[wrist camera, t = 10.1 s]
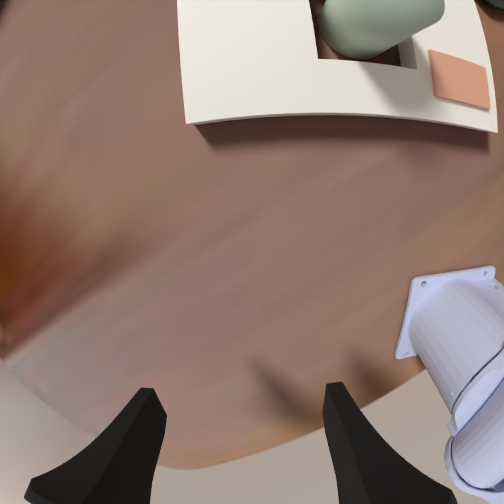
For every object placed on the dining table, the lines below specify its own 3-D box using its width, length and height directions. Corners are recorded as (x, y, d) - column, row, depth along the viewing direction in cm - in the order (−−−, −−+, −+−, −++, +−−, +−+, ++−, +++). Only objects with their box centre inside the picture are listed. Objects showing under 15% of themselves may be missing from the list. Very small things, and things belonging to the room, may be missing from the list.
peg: (381, 6, 11) (431, -38, 5) (390, 64, 13) (453, 37, 7) (313, -4, 12) (339, -63, 5) (321, 56, 13) (357, 12, 7)
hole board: (455, -8, 10) (470, -16, 7) (480, 130, 14) (500, 133, 12) (183, -33, 11) (175, -50, 8) (194, 125, 15) (184, 123, 13)
